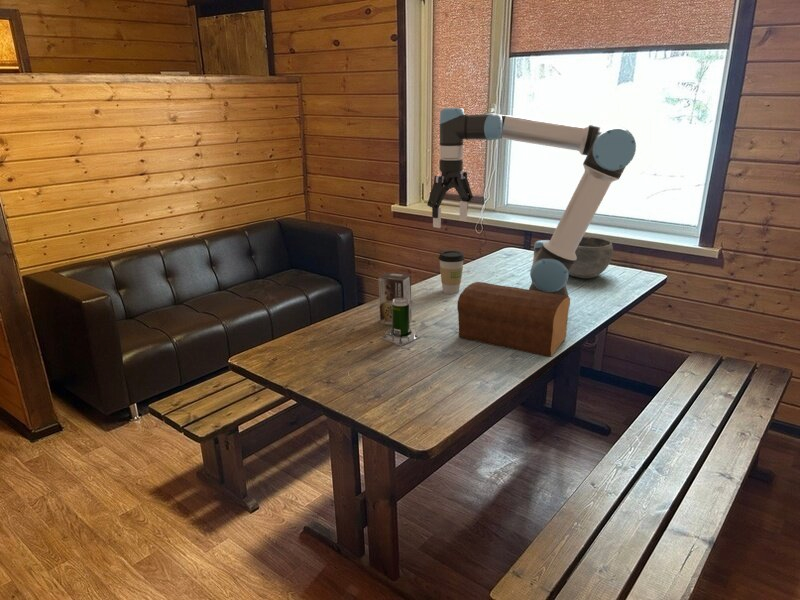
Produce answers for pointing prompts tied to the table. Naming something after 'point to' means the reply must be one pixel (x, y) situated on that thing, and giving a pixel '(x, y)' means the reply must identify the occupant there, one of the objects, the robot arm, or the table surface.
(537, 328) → the bread
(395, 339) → the duct flange
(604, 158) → the robot arm
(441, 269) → the coffee cup
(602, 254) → the bowl
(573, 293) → the table surface
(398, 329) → the beer can
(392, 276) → the coffee box
